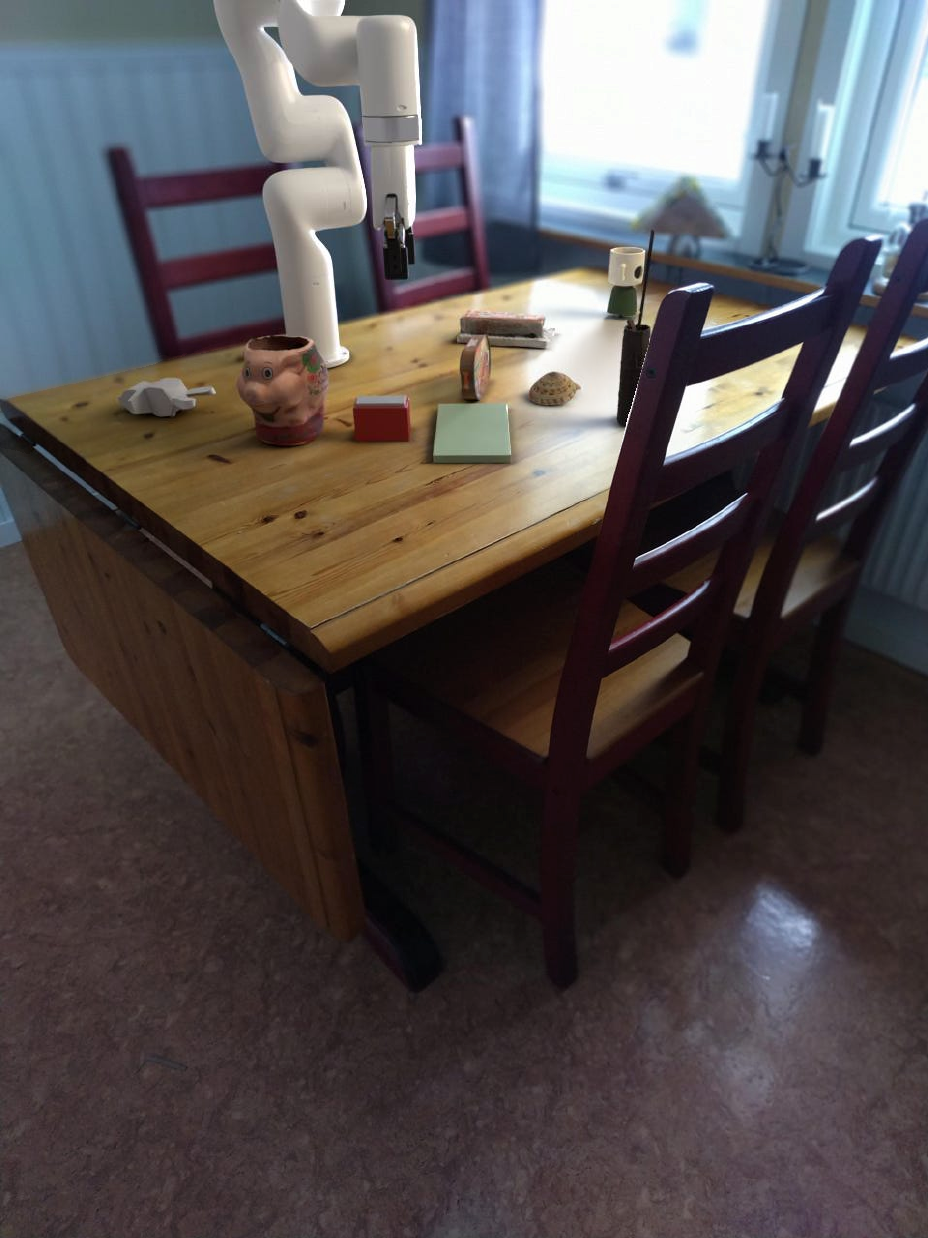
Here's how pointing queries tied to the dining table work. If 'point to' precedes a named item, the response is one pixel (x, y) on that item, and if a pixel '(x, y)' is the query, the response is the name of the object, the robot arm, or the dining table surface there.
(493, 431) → the board
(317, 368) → the decorative planter
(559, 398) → the seashell
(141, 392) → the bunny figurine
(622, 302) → the character mug
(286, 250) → the robot arm
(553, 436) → the dining table surface
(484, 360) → the tin
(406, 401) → the red rectangular block
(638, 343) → the butter churn
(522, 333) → the packaged product
